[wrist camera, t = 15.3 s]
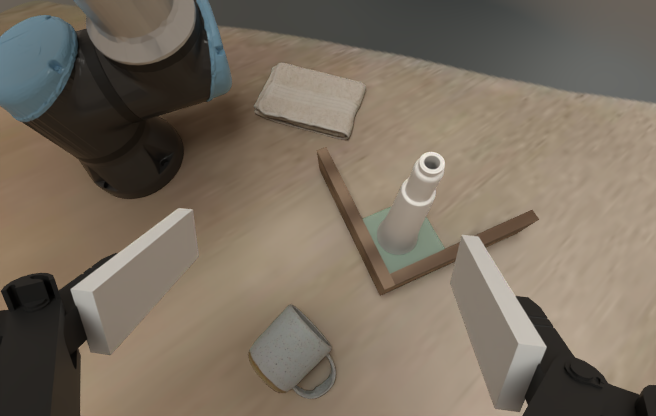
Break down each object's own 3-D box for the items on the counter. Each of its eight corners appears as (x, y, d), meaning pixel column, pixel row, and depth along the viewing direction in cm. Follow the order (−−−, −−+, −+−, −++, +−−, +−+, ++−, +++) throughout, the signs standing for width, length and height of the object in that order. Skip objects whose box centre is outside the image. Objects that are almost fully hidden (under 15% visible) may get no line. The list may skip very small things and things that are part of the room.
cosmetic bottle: (423, 225, 50) (476, 146, 30) (409, 262, 48) (455, 204, 28) (385, 210, 51) (411, 124, 31) (370, 245, 49) (387, 177, 29)
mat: (358, 221, 51) (358, 220, 51) (414, 197, 52) (414, 196, 52) (387, 278, 48) (387, 278, 48) (446, 252, 49) (446, 251, 49)
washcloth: (277, 69, 64) (273, 57, 61) (367, 89, 61) (368, 77, 58) (253, 119, 60) (248, 108, 57) (348, 143, 57) (349, 133, 54)
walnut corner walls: (319, 169, 55) (316, 150, 49) (440, 120, 57) (450, 97, 52) (380, 295, 47) (384, 289, 41) (517, 233, 49) (539, 219, 44)
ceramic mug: (252, 350, 45) (235, 353, 38) (295, 305, 47) (287, 300, 40) (307, 413, 42) (300, 429, 35) (350, 362, 44) (352, 368, 37)
